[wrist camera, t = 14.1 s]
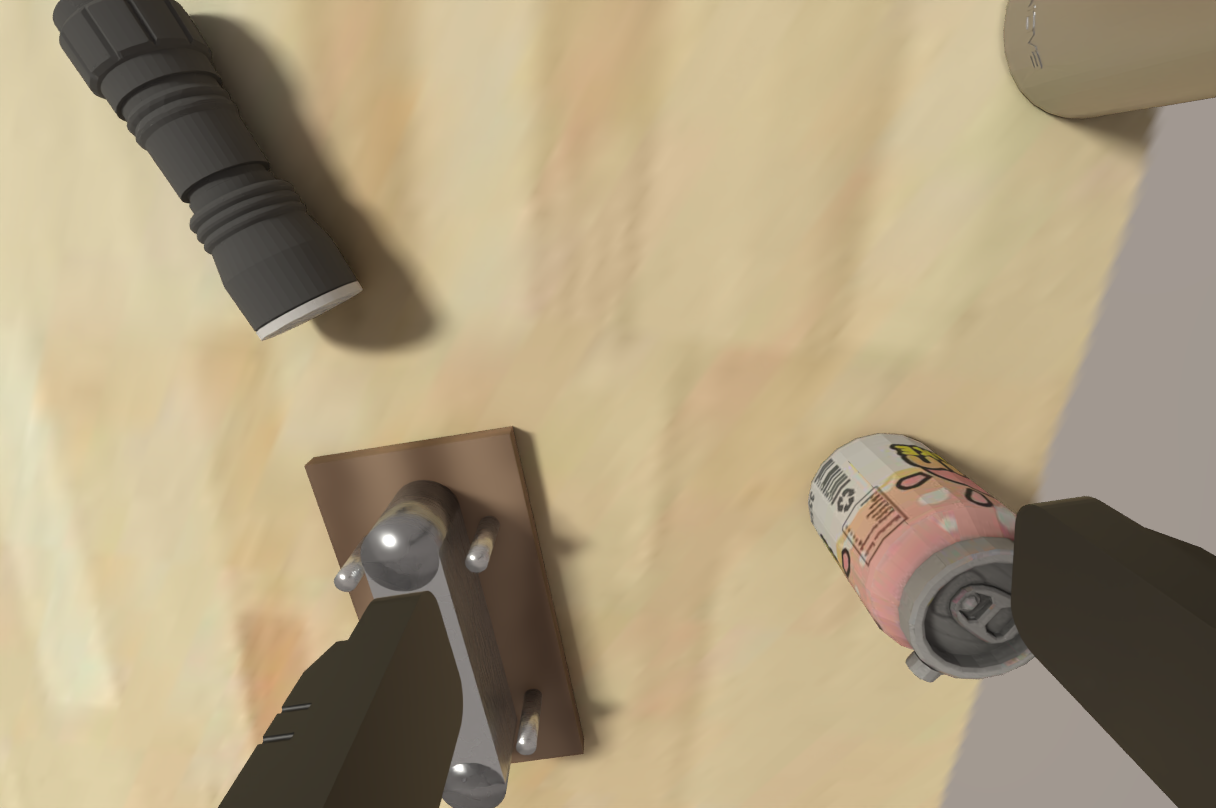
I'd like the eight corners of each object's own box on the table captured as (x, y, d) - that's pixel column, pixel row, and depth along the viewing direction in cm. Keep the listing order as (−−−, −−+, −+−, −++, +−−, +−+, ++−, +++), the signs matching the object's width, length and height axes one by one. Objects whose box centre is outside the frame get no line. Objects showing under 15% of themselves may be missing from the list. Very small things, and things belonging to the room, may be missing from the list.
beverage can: (981, 475, 37) (1151, 598, 25) (892, 577, 39) (1012, 733, 28) (860, 401, 35) (984, 497, 24) (775, 512, 37) (850, 649, 26)
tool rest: (512, 426, 35) (497, 462, 30) (583, 739, 43) (581, 808, 38) (313, 457, 36) (267, 498, 31) (418, 761, 43) (395, 832, 39)
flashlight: (105, 48, 29) (-1, 15, 24) (194, -11, 29) (105, -58, 23) (295, 328, 34) (240, 350, 28) (377, 283, 33) (336, 298, 28)
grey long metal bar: (451, 475, 35) (428, 518, 30) (522, 738, 41) (512, 808, 37) (384, 485, 35) (350, 530, 30) (465, 746, 42) (447, 816, 37)
